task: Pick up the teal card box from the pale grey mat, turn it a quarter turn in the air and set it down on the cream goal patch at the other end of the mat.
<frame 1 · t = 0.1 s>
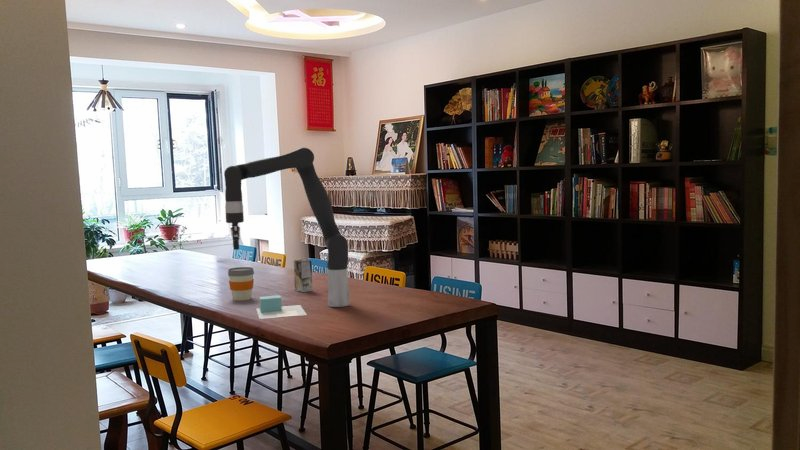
hand: (236, 248, 268), 29 cm above the table, tool pointing down, fingers open, 8 cm apart
coffee box: (303, 290, 323), on the table
reusable coffee cup: (242, 299, 305), on the table
card box: (270, 310, 272), point 1 cm above the table, touching mat
mat: (280, 312, 270), on the table
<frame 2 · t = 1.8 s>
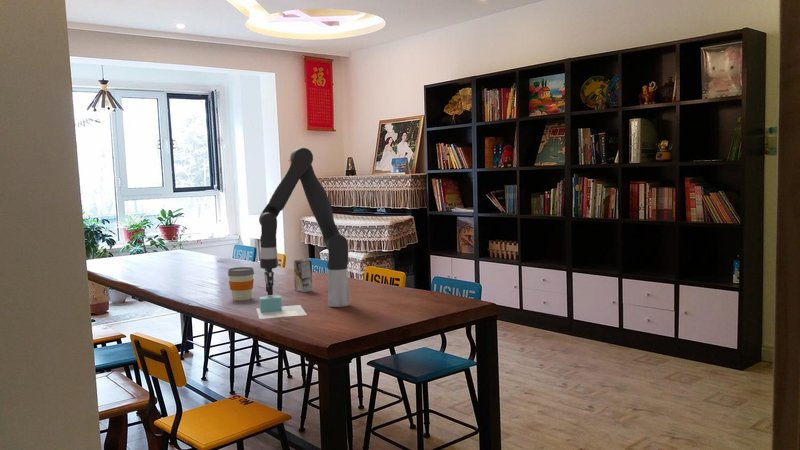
hand: (269, 293, 272), 8 cm above the table, tool pointing down, fingers open, 8 cm apart
nothing on the table moved.
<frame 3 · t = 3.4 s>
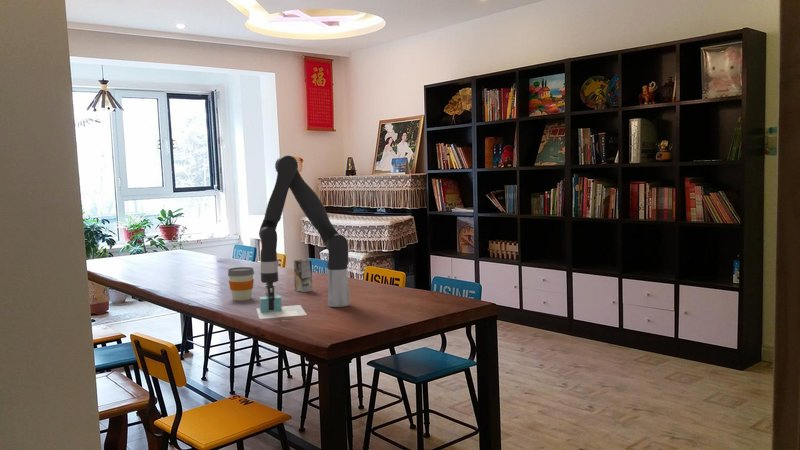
hand: (270, 308, 272), 2 cm above the table, tool pointing down, fingers closed on card box, 6 cm apart
card box: (270, 310, 272), point 1 cm above the table, touching gripper, mat
everything else where it was.
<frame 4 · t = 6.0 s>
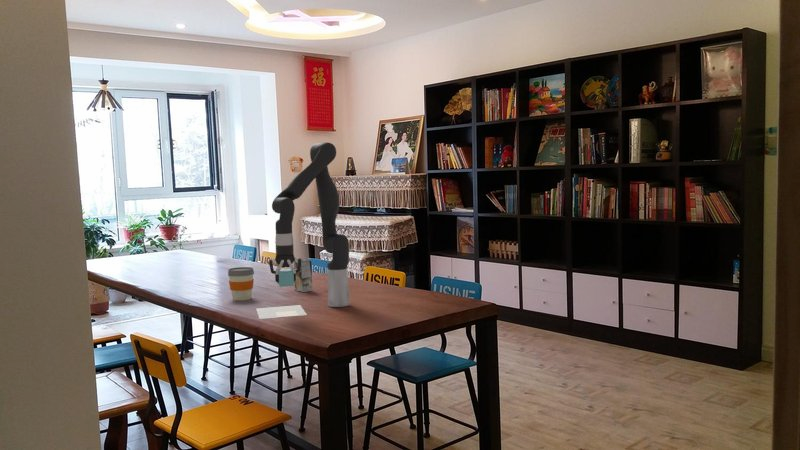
hand: (285, 282, 263), 15 cm above the table, tool pointing down, fingers closed on card box, 6 cm apart
card box: (285, 284, 264), point 14 cm above the table, touching gripper
everything else where it was.
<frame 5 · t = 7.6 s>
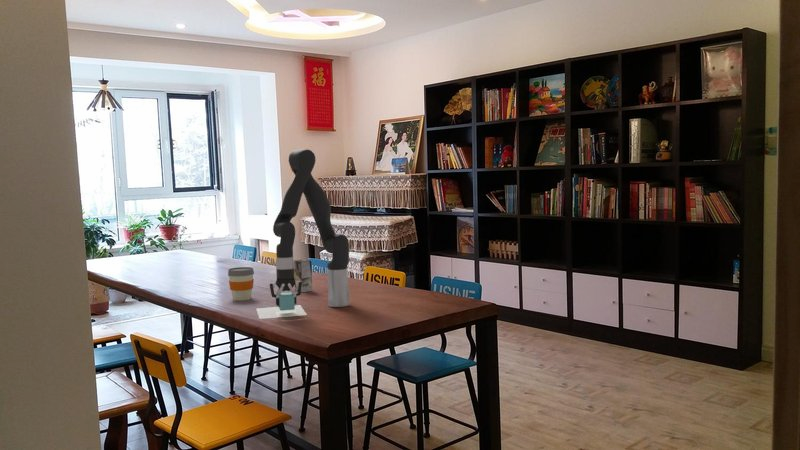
hand: (286, 305, 264), 4 cm above the table, tool pointing down, fingers closed on card box, 6 cm apart
card box: (286, 308, 264), point 3 cm above the table, touching gripper
everything else where it was.
when the fingers open (3 cm above the table, at t = 8.9 s): card box drops 1 cm, resting on mat.
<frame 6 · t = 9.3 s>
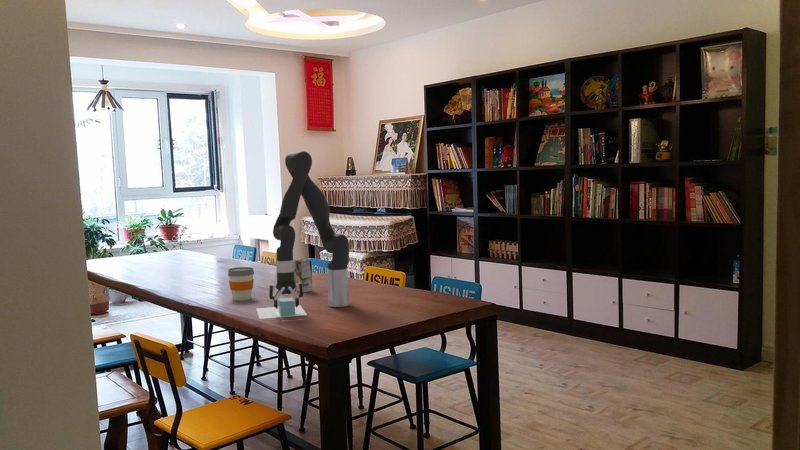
hand: (286, 307, 264), 3 cm above the table, tool pointing down, fingers open, 8 cm apart
card box: (287, 313, 265), point 1 cm above the table, touching mat
everything else where it was.
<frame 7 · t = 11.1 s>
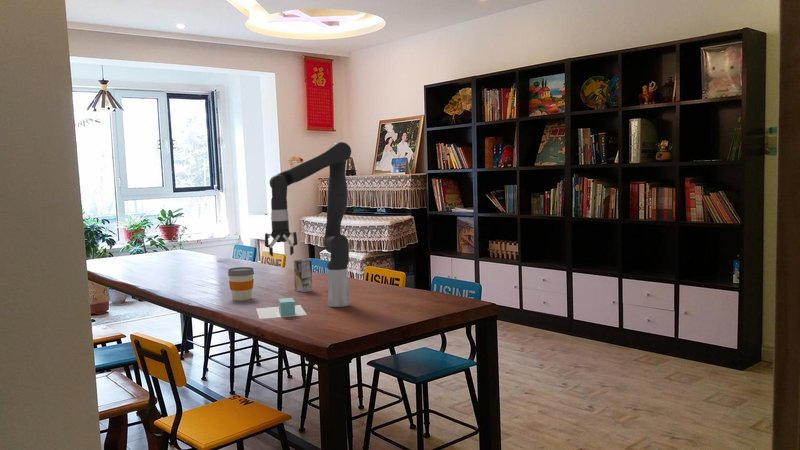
hand: (281, 255, 274), 25 cm above the table, tool pointing down, fingers open, 8 cm apart
nothing on the table moved.
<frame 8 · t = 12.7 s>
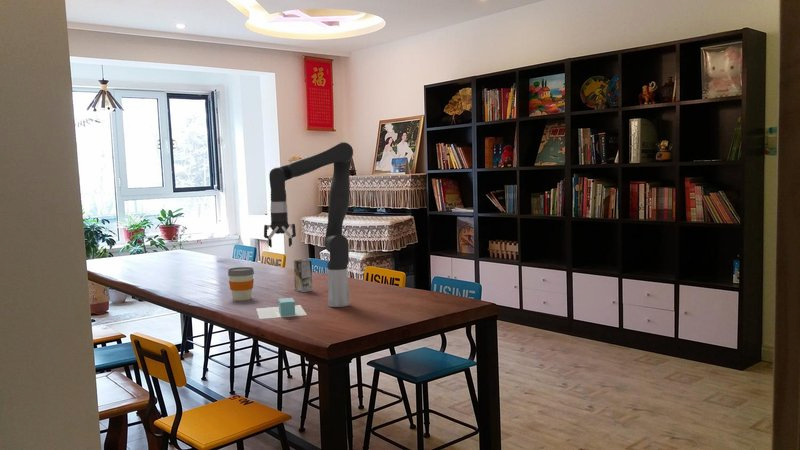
hand: (280, 246, 280), 28 cm above the table, tool pointing down, fingers open, 8 cm apart
nothing on the table moved.
at the end: card box inside the target area (0.0 cm from its centre), point 0.7 cm above the table; card box tilted 0°; the gripper is holding nothing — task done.
